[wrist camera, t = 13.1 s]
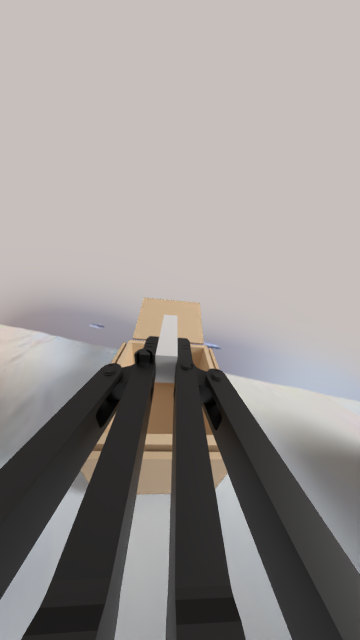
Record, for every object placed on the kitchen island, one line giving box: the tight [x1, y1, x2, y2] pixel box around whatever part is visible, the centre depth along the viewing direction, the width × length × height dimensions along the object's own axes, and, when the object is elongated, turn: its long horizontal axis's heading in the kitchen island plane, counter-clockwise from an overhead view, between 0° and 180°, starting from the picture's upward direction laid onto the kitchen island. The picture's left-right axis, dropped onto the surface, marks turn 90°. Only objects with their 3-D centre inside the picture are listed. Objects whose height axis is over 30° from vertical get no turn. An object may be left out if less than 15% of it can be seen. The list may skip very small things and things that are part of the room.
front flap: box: [133, 298, 203, 344], centre depth 31 cm, size 15×1×12 cm
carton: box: [80, 340, 228, 494], centre depth 22 cm, size 18×17×13 cm
